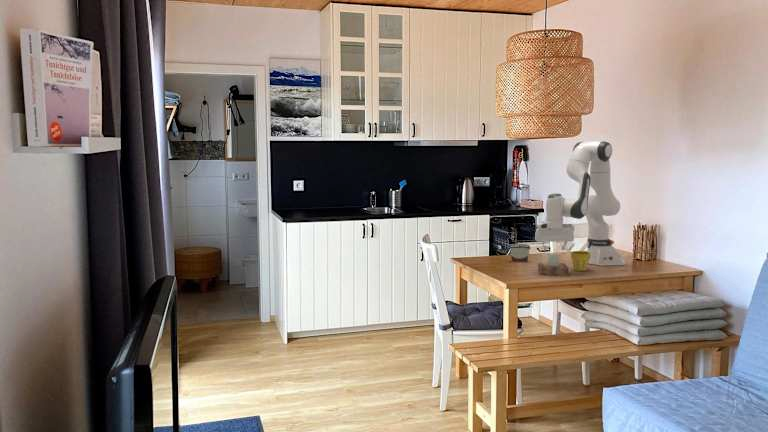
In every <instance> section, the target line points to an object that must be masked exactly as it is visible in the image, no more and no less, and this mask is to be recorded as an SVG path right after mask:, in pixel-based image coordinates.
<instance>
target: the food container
mask: <svg viewBox="0 0 768 432" xmlns="http://www.w3.org/2000/svg"><path fill="white" fill-rule="evenodd" d="M508 249H510V250H509V251H510V260H511V261H510V262H511V263H529V257H530V256H529V255H530V254H529V253H530V250H531V246H530V244H525V243H514V244H510V245H509V247H508Z"/></svg>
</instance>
